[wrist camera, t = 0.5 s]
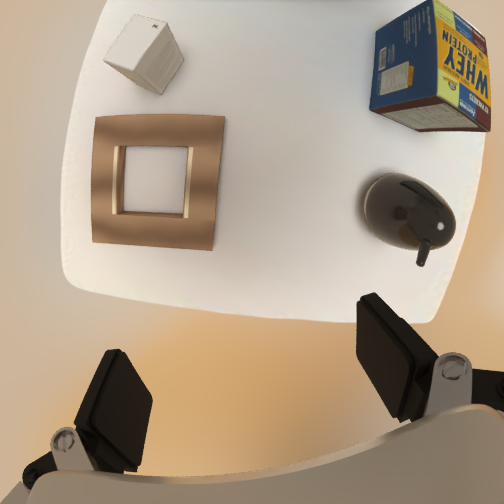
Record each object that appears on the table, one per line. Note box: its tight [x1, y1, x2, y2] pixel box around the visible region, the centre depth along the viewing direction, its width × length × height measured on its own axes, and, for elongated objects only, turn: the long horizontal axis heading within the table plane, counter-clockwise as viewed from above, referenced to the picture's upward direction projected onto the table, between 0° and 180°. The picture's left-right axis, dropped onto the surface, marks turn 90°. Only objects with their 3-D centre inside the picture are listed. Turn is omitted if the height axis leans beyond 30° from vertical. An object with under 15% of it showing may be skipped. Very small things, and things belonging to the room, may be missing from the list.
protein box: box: [369, 0, 491, 132], centre depth 24 cm, size 10×15×16 cm
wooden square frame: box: [91, 114, 225, 251], centre depth 33 cm, size 17×17×3 cm
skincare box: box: [103, 15, 184, 95], centre depth 23 cm, size 6×4×12 cm
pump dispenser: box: [364, 173, 456, 267], centre depth 31 cm, size 10×10×15 cm
